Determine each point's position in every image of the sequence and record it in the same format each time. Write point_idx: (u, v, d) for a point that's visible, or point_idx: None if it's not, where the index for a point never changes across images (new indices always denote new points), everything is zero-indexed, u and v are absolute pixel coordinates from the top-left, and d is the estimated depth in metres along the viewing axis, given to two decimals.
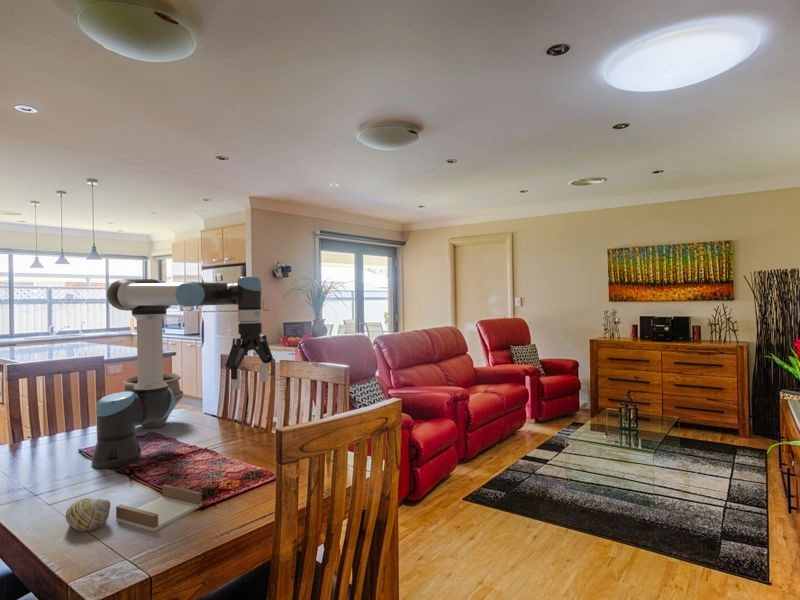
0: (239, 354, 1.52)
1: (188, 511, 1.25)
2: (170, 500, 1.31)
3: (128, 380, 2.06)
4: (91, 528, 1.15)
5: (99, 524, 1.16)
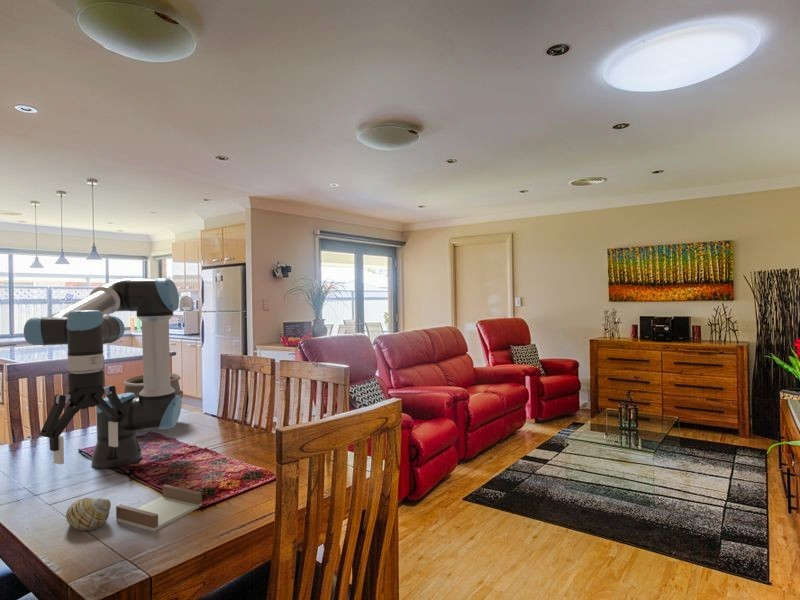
0: (65, 416, 1.13)
1: (188, 511, 1.25)
2: (170, 500, 1.31)
3: (128, 380, 2.06)
4: (91, 527, 1.15)
5: (99, 523, 1.16)
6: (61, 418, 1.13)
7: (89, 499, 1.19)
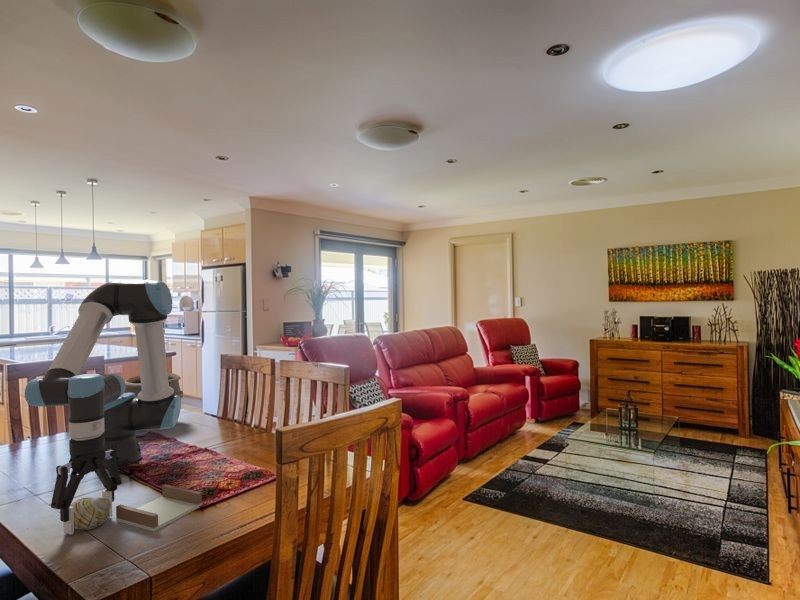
0: (70, 485, 1.14)
1: (188, 511, 1.25)
2: (170, 500, 1.31)
3: (128, 380, 2.06)
4: (92, 527, 1.16)
5: (100, 522, 1.17)
6: (67, 488, 1.14)
7: (89, 498, 1.19)
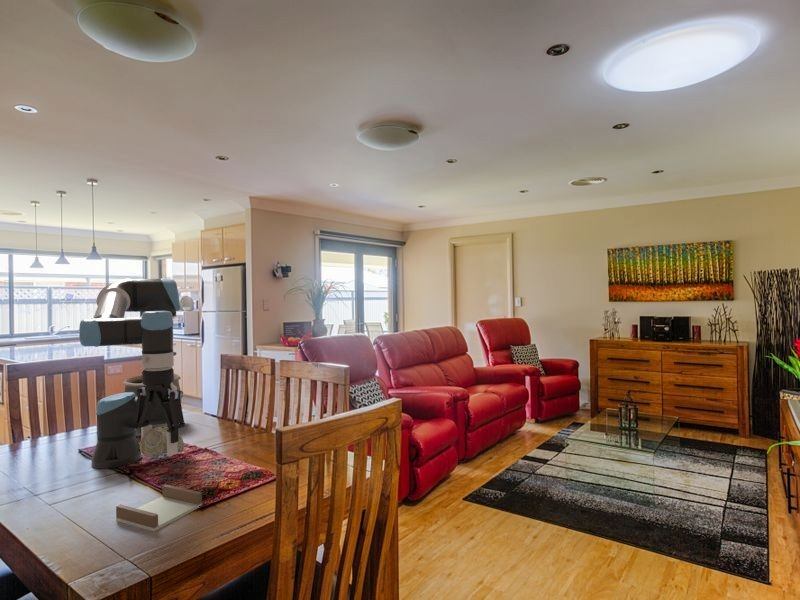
0: None
1: (188, 511, 1.25)
2: (170, 500, 1.31)
3: (128, 380, 2.06)
4: (142, 453, 1.22)
5: (144, 453, 1.21)
6: None
7: (160, 428, 1.25)
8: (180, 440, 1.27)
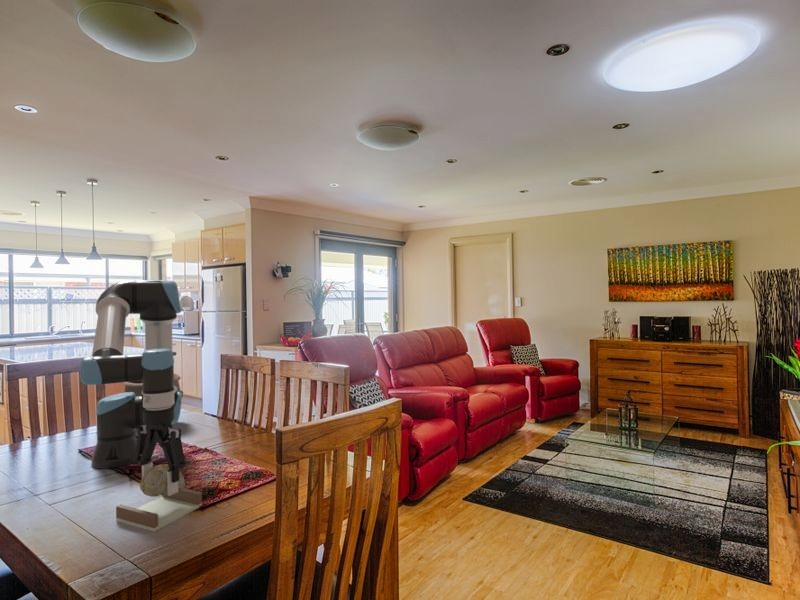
0: None
1: (188, 511, 1.25)
2: (170, 500, 1.31)
3: None
4: None
5: (145, 493, 1.21)
6: None
7: (160, 467, 1.25)
8: (181, 478, 1.27)
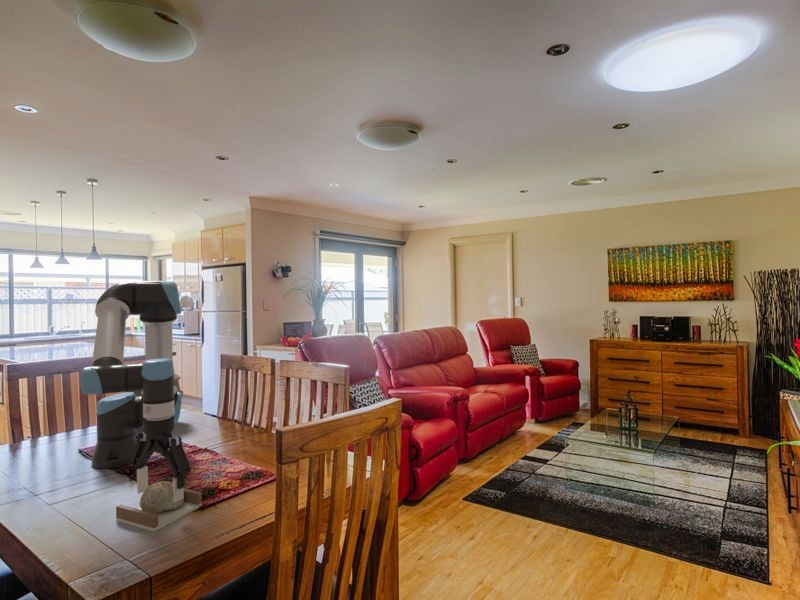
0: None
1: (188, 511, 1.25)
2: None
3: None
4: None
5: None
6: None
7: (160, 484, 1.25)
8: None
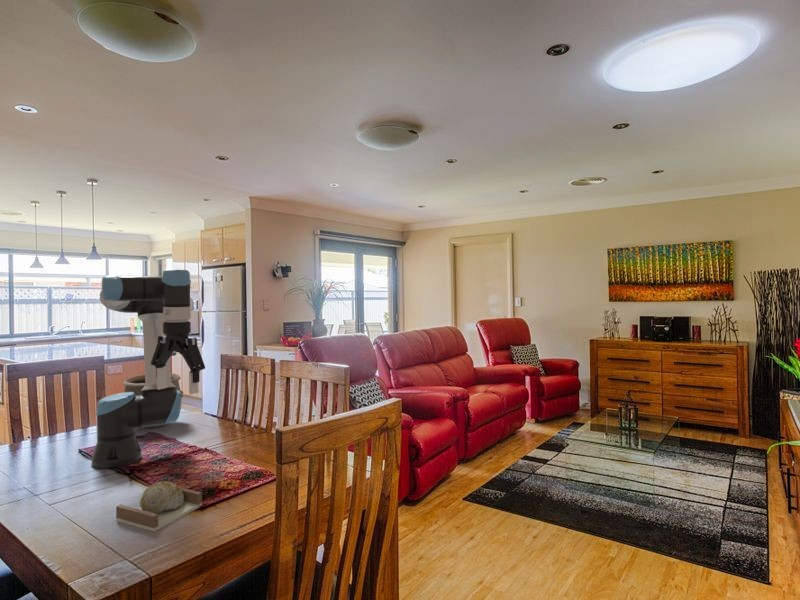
0: None
1: (188, 511, 1.25)
2: None
3: (128, 380, 2.06)
4: None
5: None
6: None
7: (160, 484, 1.25)
8: (180, 495, 1.27)
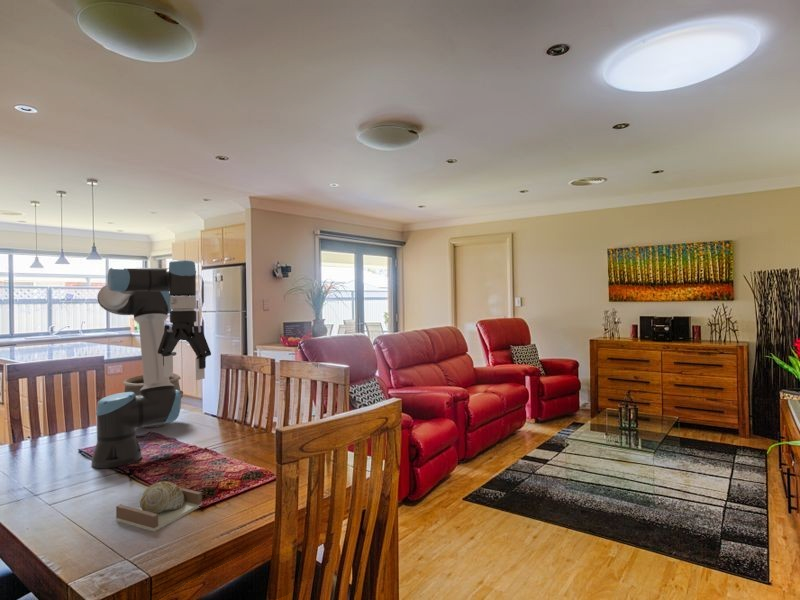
0: None
1: (188, 511, 1.25)
2: None
3: (128, 380, 2.06)
4: None
5: None
6: None
7: (160, 484, 1.25)
8: (181, 495, 1.27)
